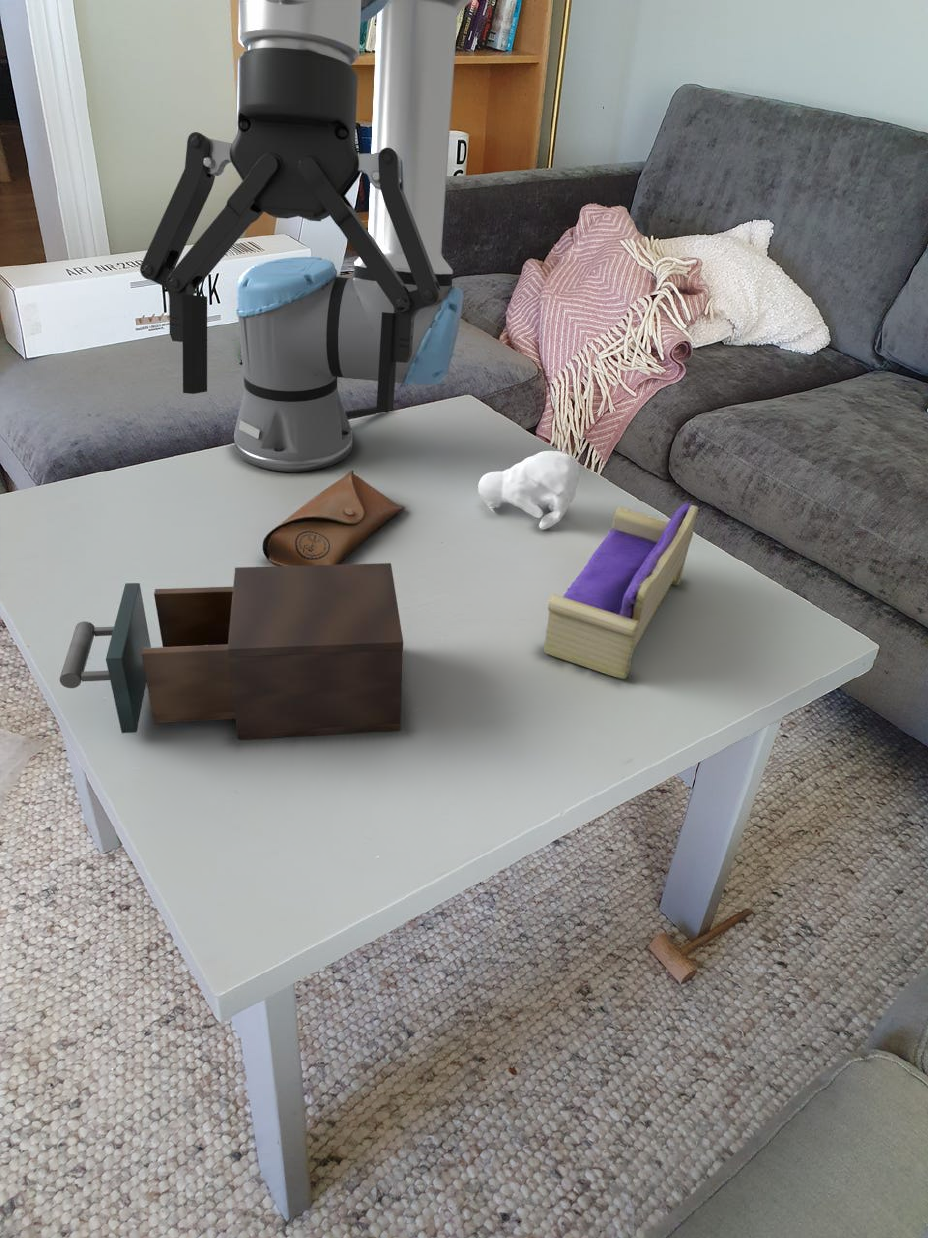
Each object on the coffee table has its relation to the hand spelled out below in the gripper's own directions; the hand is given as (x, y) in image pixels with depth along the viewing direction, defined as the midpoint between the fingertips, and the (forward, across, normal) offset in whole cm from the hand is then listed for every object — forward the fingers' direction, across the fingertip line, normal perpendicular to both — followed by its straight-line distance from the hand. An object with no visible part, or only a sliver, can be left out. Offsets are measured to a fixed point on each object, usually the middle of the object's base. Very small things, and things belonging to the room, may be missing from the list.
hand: (289, 401), depth 64 cm
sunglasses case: (+18, -4, +36) cm, 40 cm away
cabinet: (+26, +1, +10) cm, 28 cm away
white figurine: (+15, +17, +44) cm, 50 cm away
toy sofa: (+21, +28, +26) cm, 43 cm away
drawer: (+26, -11, +7) cm, 29 cm away
